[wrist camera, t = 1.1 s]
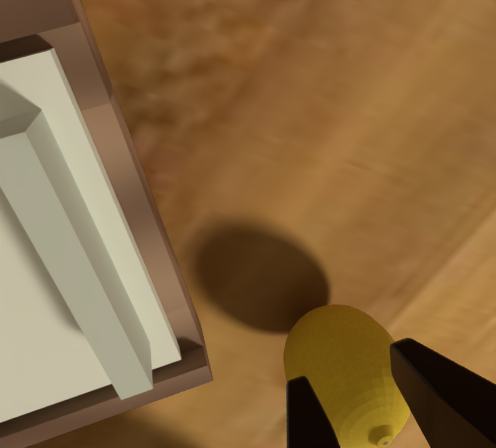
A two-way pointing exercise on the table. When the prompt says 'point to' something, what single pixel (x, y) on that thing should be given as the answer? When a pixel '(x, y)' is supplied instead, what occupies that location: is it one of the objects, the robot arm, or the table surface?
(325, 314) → the lemon
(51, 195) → the cover
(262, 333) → the table surface
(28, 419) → the sliding lid box
